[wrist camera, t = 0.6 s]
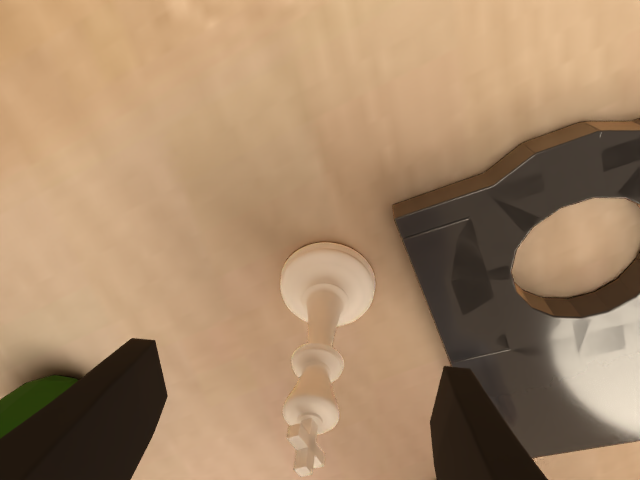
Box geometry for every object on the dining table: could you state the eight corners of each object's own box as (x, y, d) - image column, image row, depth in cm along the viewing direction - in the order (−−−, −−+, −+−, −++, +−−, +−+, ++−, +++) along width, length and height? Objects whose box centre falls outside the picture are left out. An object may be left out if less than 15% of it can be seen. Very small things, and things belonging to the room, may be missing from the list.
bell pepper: (-12, 358, 26) (-195, 527, 18) (103, 354, 25) (-33, 533, 17) (46, 440, 30) (-81, 610, 22) (147, 440, 29) (57, 620, 21)
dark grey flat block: (765, 393, 22) (790, 417, 21) (484, 442, 26) (490, 465, 25) (791, 44, 14) (835, 47, 13) (386, 191, 18) (388, 205, 17)
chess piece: (349, 226, 19) (338, 399, 11) (390, 302, 21) (410, 500, 13) (263, 263, 21) (192, 442, 12) (309, 330, 23) (276, 526, 14)
